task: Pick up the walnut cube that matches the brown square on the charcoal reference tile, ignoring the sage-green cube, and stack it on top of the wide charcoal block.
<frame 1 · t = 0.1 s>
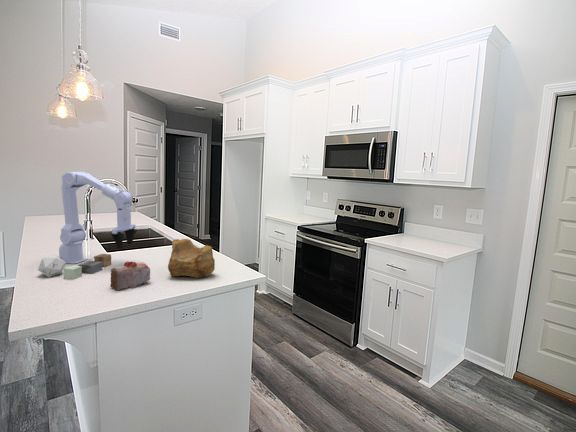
hand: (124, 245, 154), 10 cm above the countertop, fingers open, 7 cm apart
sage cube: (73, 277, 137), on the countertop
food item: (131, 285, 131), on the countertop
pale gray rock: (52, 275, 139), on the countertop
walnut cube: (103, 265, 155), on the countertop
rough brown rock: (186, 275, 147), on the countertop
reference tile: (81, 267, 151), on the countertop
charcoal base block: (91, 271, 146), on the countertop
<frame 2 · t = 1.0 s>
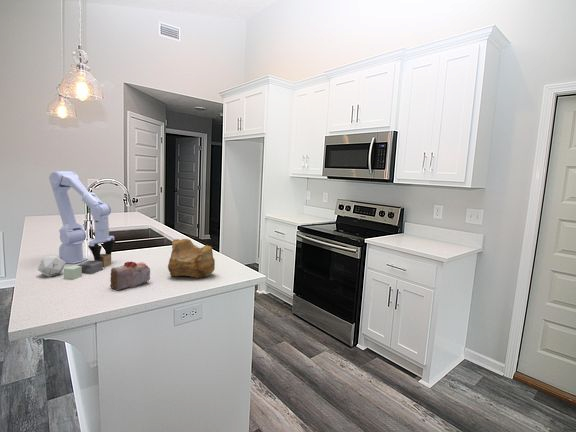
hand: (102, 257, 154), 4 cm above the countertop, fingers open, 7 cm apart
nothing on the countertop moved.
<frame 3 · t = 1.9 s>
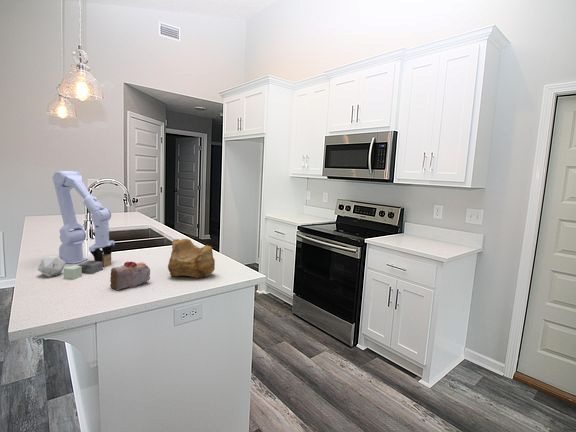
hand: (102, 262, 154), 1 cm above the countertop, fingers closed on walnut cube, 5 cm apart
walnut cube: (103, 265, 154), on the countertop, touching gripper
everything else where it was.
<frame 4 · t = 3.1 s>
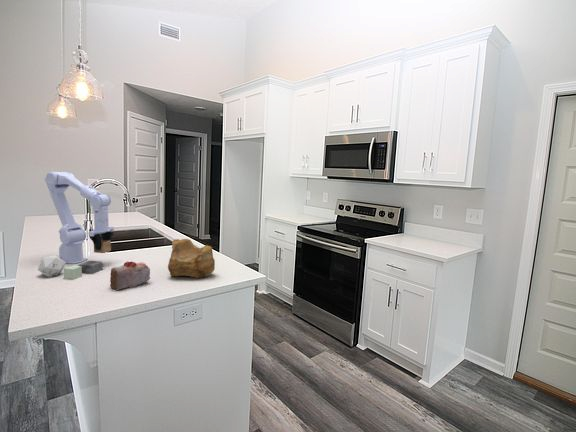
hand: (102, 248, 153), 8 cm above the countertop, fingers closed on walnut cube, 5 cm apart
walnut cube: (102, 251, 154), point 7 cm above the countertop, touching gripper
everything else where it was.
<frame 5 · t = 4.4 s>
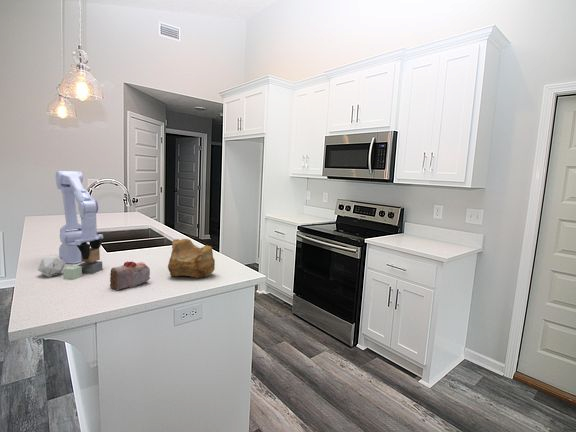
hand: (90, 257, 145), 6 cm above the countertop, fingers closed on walnut cube, 5 cm apart
walnut cube: (90, 260, 145), point 5 cm above the countertop, touching gripper
everything else where it was.
when the fingers open (6 cm above the countertop, at t = 4.7 s): walnut cube drops 1 cm, point 4 cm above the countertop.
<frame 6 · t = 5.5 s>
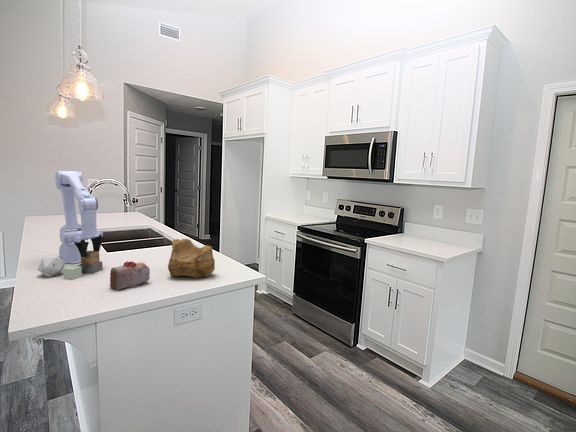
hand: (90, 254, 145), 8 cm above the countertop, fingers open, 7 cm apart
walnut cube: (90, 263, 145), point 4 cm above the countertop
everything else where it was.
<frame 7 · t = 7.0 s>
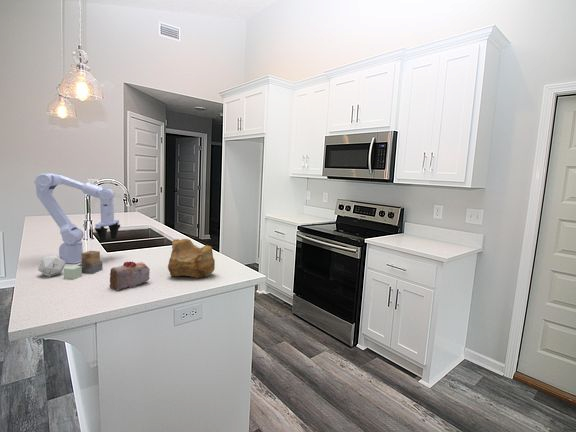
hand: (108, 240, 161), 10 cm above the countertop, fingers open, 7 cm apart
nothing on the countertop moved.
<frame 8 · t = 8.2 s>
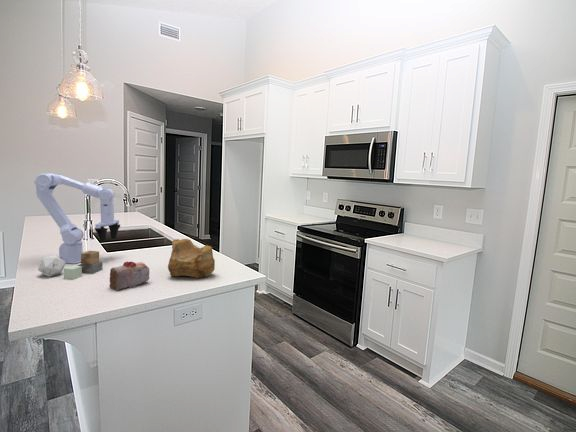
hand: (108, 240, 161), 10 cm above the countertop, fingers open, 7 cm apart
nothing on the countertop moved.
at the end: walnut cube 0.2 cm off-centre on the charcoal base block, point 4.0 cm above the charcoal base block's base; walnut cube tilted 0°; sage cube moved 0.1 cm from its start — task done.
